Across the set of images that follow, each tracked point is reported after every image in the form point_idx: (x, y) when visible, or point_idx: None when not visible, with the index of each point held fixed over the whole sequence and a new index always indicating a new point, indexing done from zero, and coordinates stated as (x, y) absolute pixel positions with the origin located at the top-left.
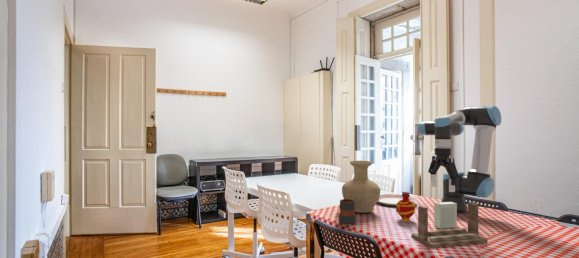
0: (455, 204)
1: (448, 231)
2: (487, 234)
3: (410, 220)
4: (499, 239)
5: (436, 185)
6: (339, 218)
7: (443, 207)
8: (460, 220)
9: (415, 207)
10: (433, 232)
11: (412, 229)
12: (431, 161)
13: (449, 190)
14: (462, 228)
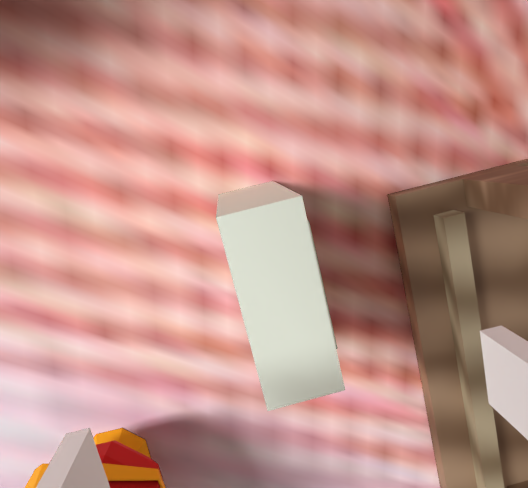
0: (304, 211)
1: (479, 336)
2: (430, 52)
3: (128, 432)
4: (525, 34)
5: (84, 449)
6: None
7: (334, 339)
8: (91, 58)
9: (109, 466)
10: (493, 429)
11: (319, 470)
12: None
13: (509, 411)
14: (451, 231)
